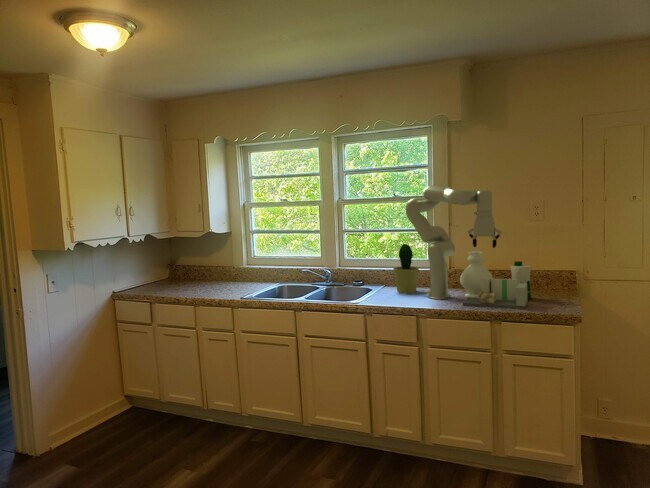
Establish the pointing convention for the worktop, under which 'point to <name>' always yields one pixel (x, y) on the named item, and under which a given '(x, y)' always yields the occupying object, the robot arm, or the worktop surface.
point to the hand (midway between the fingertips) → (484, 247)
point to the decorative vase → (474, 274)
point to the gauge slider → (487, 297)
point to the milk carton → (522, 275)
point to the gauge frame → (502, 294)
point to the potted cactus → (406, 272)
